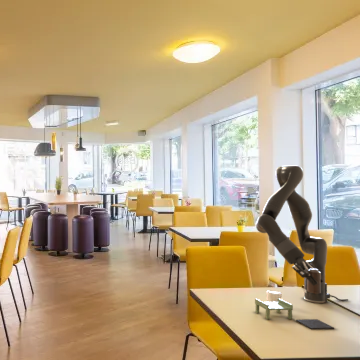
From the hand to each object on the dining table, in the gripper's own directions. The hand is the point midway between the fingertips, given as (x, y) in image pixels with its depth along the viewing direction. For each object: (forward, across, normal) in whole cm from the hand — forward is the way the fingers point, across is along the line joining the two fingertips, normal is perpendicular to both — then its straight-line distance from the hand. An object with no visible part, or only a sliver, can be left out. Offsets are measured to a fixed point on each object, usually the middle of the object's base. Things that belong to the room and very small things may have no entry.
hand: (318, 283), depth 167 cm
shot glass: (-4, +12, +31) cm, 33 cm away
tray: (+1, -3, +26) cm, 26 cm away
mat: (+12, 0, +14) cm, 19 cm away
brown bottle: (+2, 0, +4) cm, 4 cm away
